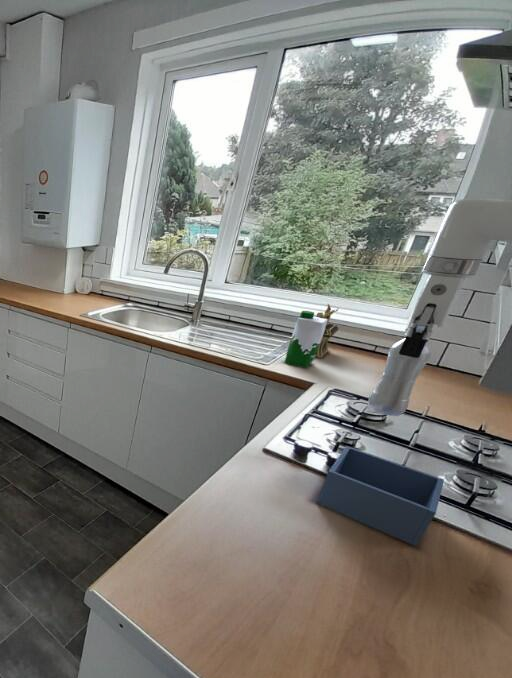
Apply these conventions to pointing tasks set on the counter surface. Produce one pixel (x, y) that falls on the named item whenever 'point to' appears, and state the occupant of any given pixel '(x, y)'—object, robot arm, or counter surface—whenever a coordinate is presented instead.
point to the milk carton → (305, 339)
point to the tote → (382, 494)
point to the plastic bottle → (398, 380)
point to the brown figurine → (326, 331)
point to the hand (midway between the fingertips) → (411, 351)
